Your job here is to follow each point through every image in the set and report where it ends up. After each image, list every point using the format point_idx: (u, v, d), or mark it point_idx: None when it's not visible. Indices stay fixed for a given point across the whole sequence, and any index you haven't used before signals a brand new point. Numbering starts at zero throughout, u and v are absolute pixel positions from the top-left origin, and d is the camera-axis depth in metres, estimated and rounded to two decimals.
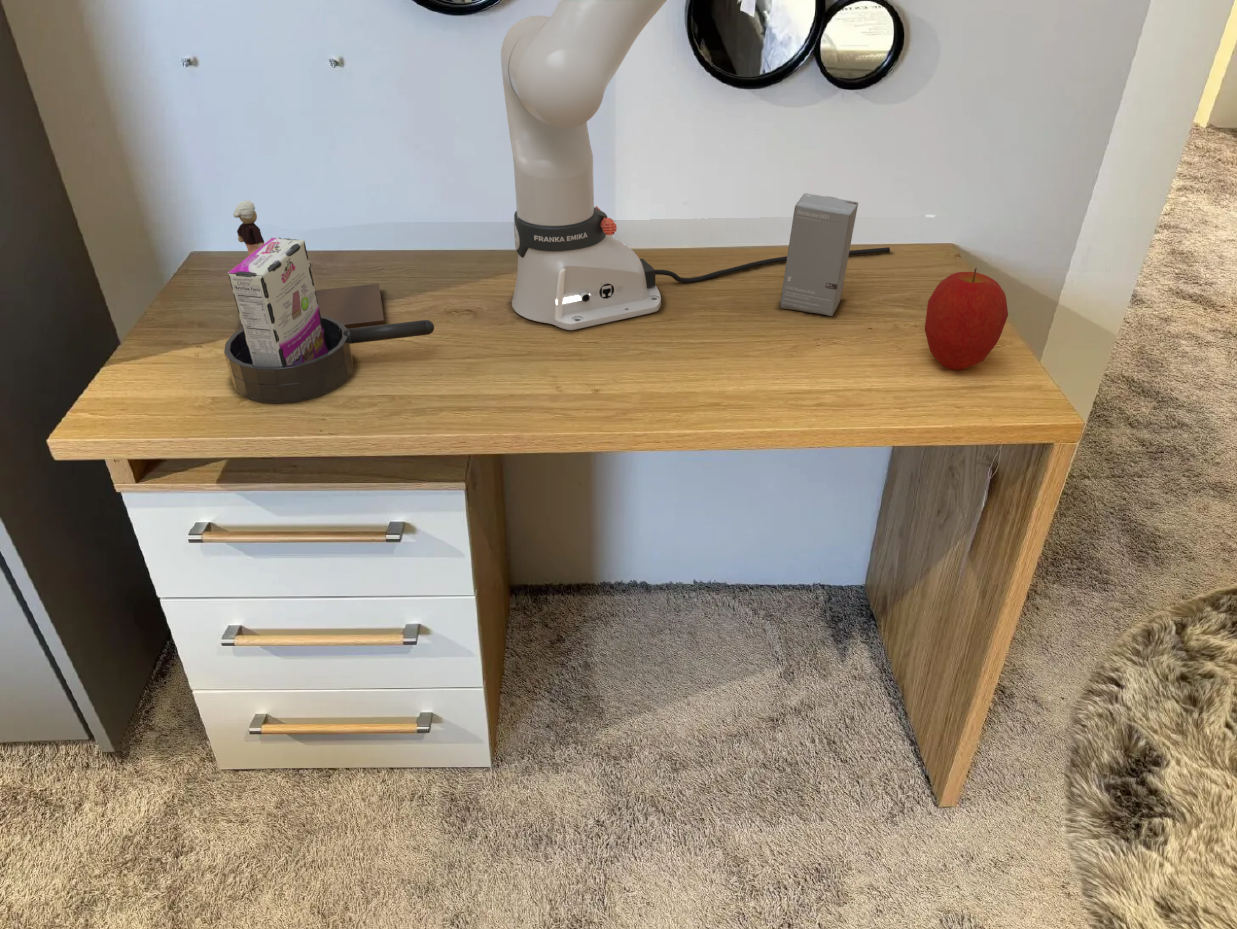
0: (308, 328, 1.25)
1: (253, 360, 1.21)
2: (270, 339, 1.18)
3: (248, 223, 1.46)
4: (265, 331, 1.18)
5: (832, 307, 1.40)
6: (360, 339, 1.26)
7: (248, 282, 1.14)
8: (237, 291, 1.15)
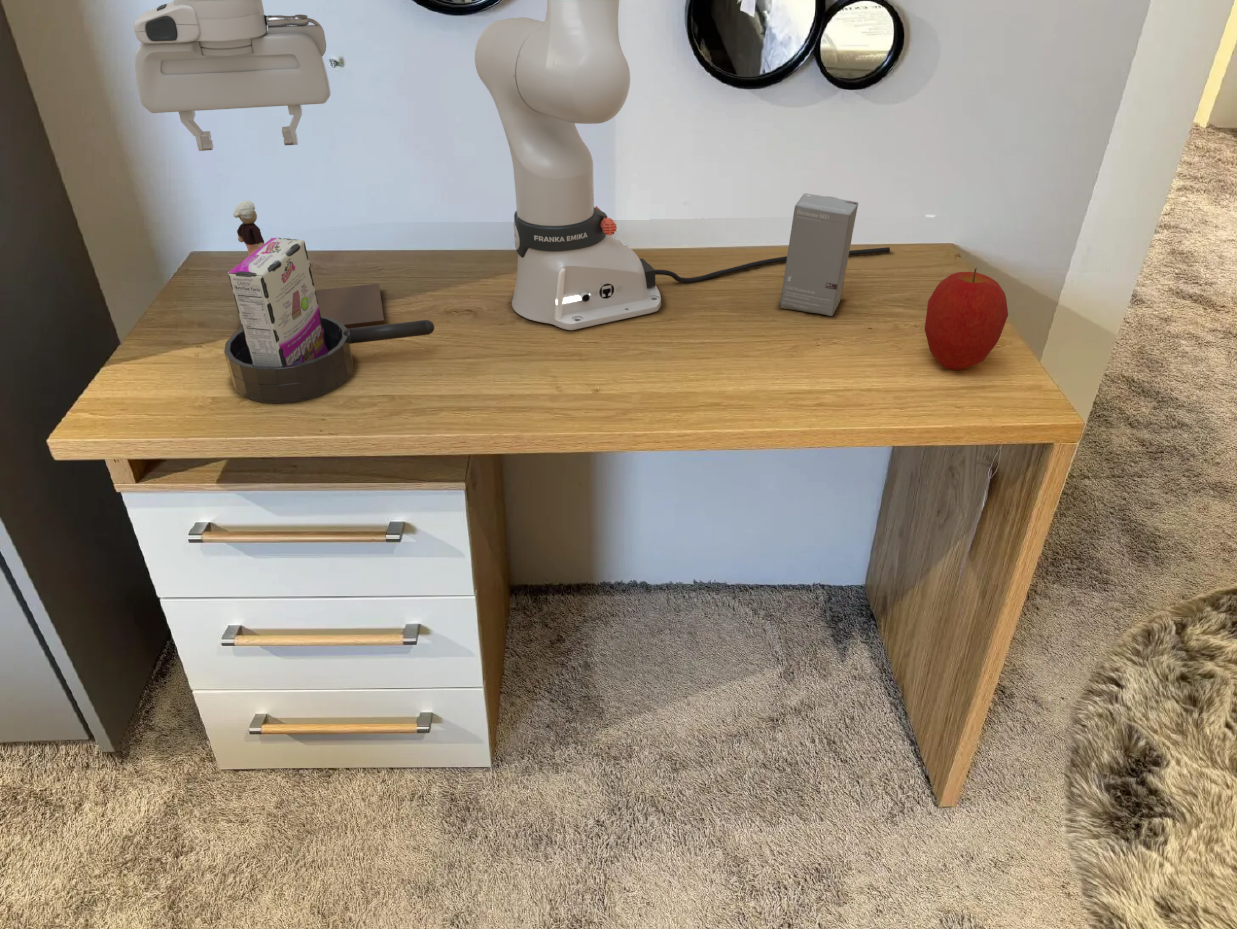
0: (308, 328, 1.25)
1: (253, 360, 1.21)
2: (270, 339, 1.18)
3: (248, 223, 1.46)
4: (265, 331, 1.18)
5: (832, 307, 1.40)
6: (360, 339, 1.26)
7: (248, 282, 1.14)
8: (237, 291, 1.15)
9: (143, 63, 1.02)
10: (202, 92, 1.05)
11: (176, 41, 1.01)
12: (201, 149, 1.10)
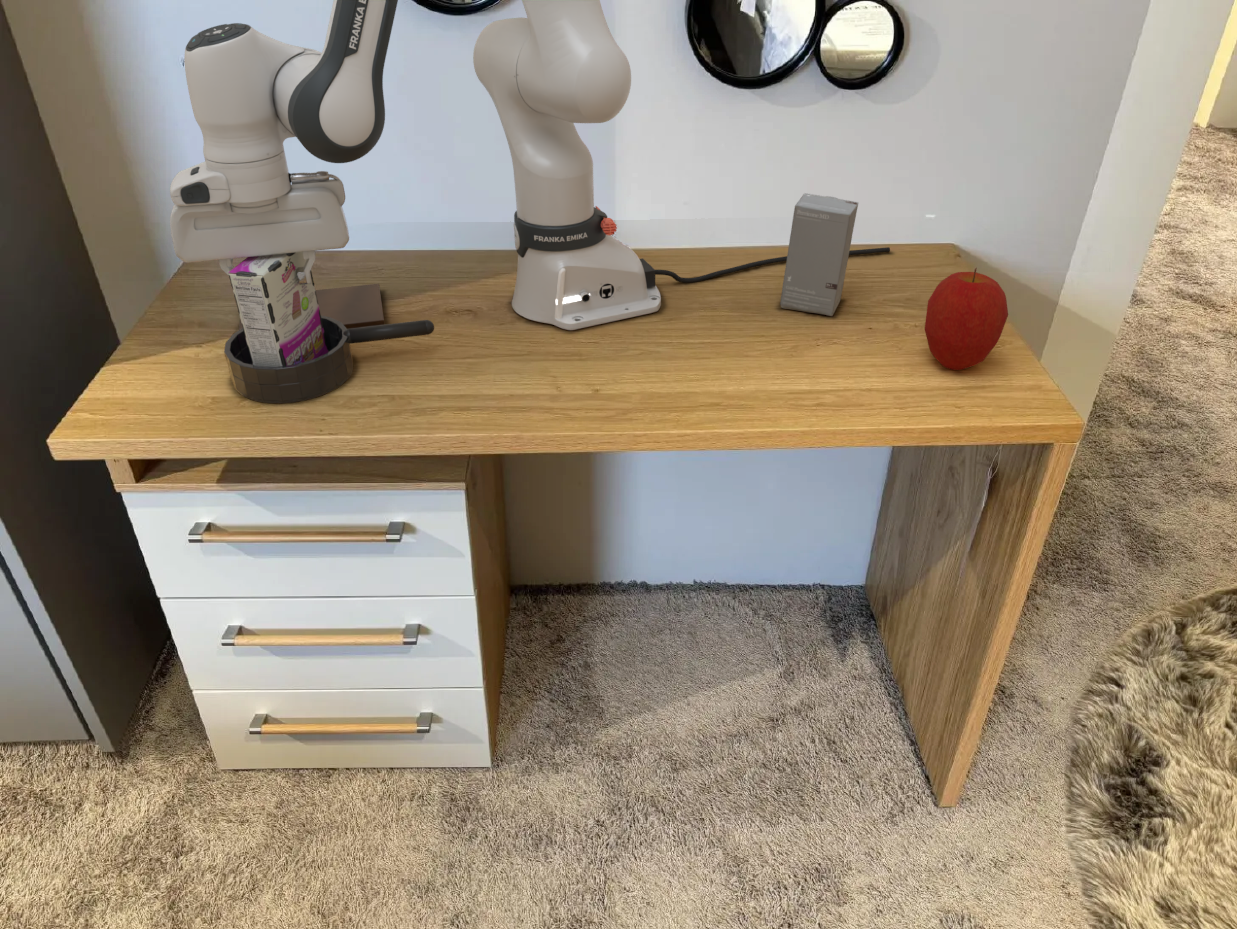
0: (308, 328, 1.25)
1: (253, 360, 1.21)
2: (270, 339, 1.18)
3: None
4: (265, 331, 1.18)
5: (832, 307, 1.40)
6: (360, 339, 1.26)
7: (248, 282, 1.14)
8: (237, 291, 1.15)
9: (178, 222, 1.11)
10: (231, 243, 1.14)
11: (208, 203, 1.10)
12: None
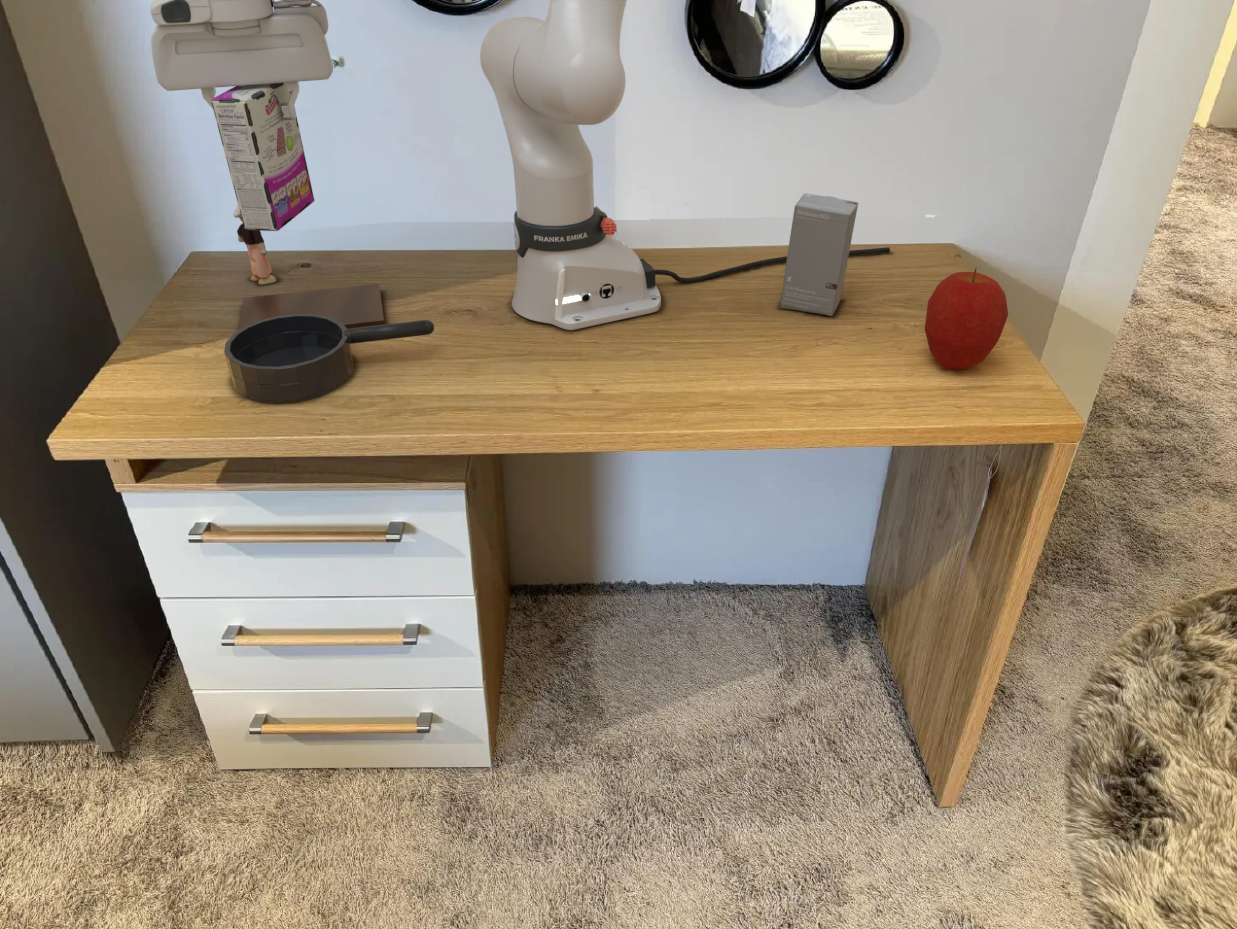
0: (293, 169, 1.24)
1: (238, 197, 1.20)
2: (254, 172, 1.17)
3: None
4: (250, 163, 1.17)
5: (832, 307, 1.40)
6: (360, 339, 1.26)
7: (231, 108, 1.13)
8: (221, 120, 1.14)
9: (159, 44, 1.10)
10: (213, 70, 1.13)
11: (190, 22, 1.09)
12: None
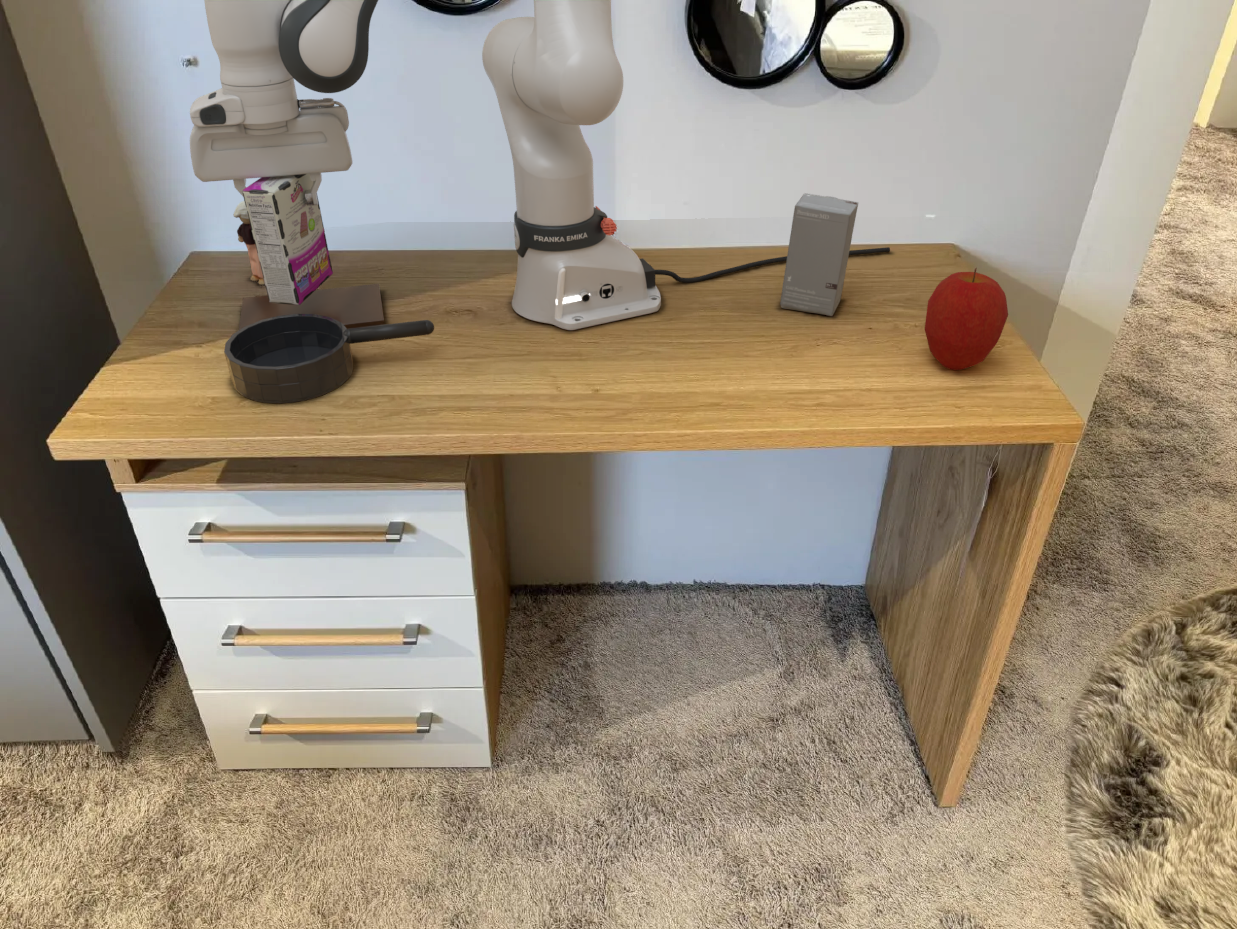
0: (314, 248, 1.36)
1: (264, 274, 1.32)
2: (280, 254, 1.29)
3: (248, 223, 1.46)
4: (276, 246, 1.29)
5: (832, 307, 1.40)
6: (360, 339, 1.26)
7: (260, 199, 1.25)
8: (250, 208, 1.26)
9: (197, 142, 1.22)
10: (245, 164, 1.25)
11: (225, 124, 1.21)
12: None
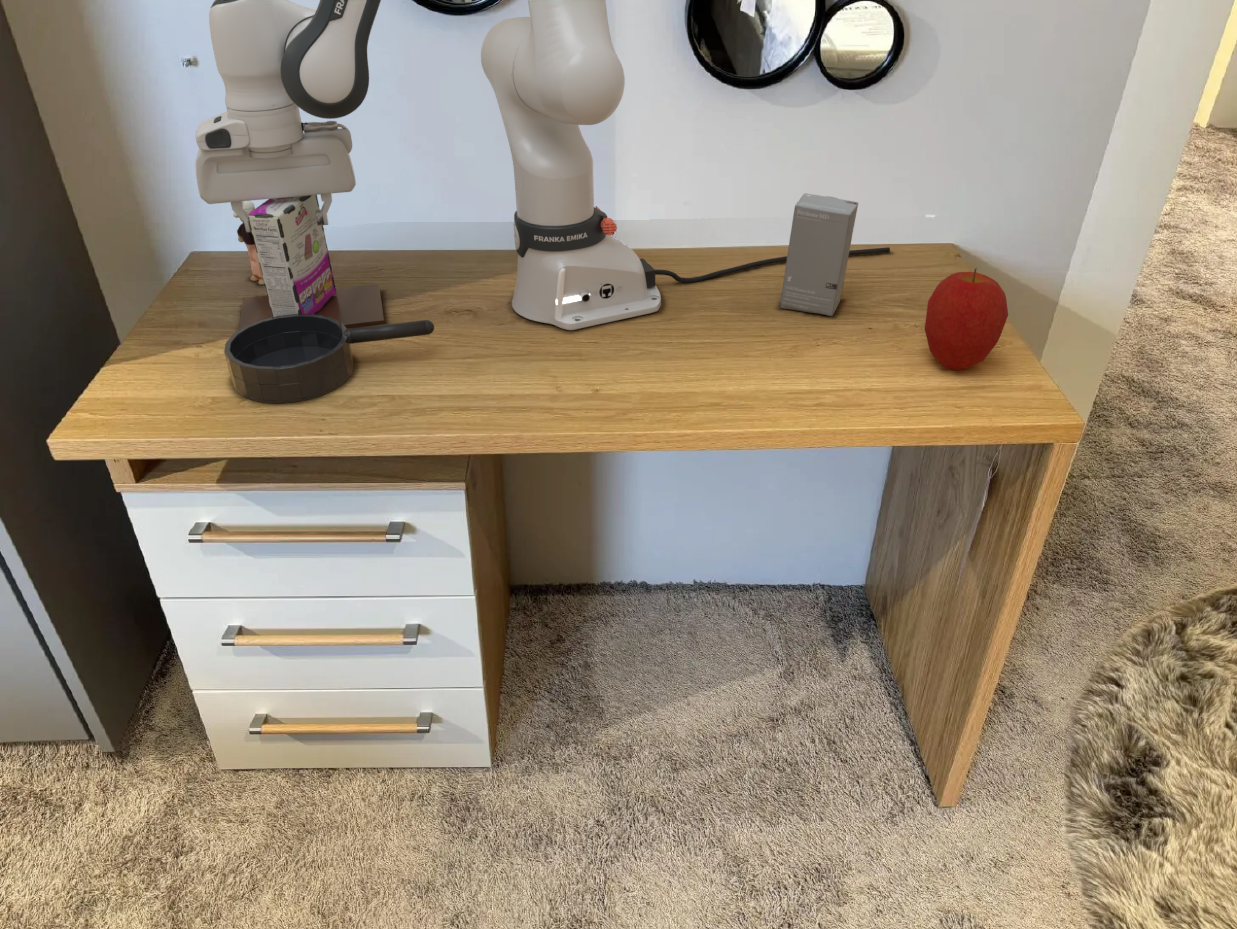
0: (319, 269, 1.38)
1: (269, 296, 1.34)
2: (284, 276, 1.31)
3: None
4: (280, 268, 1.30)
5: (832, 307, 1.40)
6: (360, 339, 1.26)
7: (265, 223, 1.27)
8: (256, 232, 1.28)
9: (202, 166, 1.23)
10: (250, 186, 1.27)
11: (230, 148, 1.22)
12: (248, 231, 1.31)
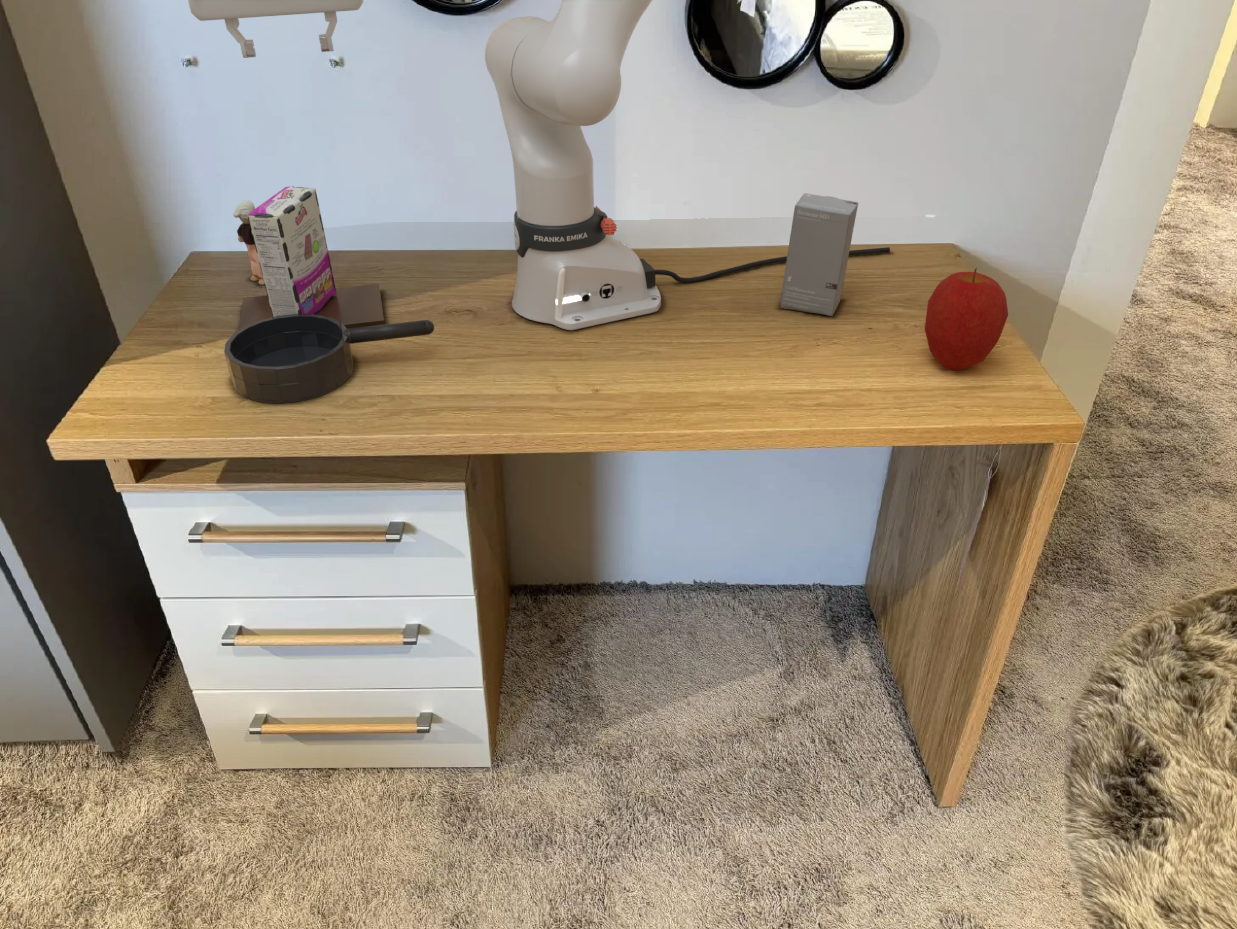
0: (319, 269, 1.38)
1: (269, 296, 1.34)
2: (284, 276, 1.31)
3: (248, 223, 1.46)
4: (280, 268, 1.30)
5: (832, 307, 1.40)
6: (360, 339, 1.26)
7: (265, 222, 1.27)
8: (256, 232, 1.28)
9: None
10: None
11: None
12: (245, 56, 1.18)
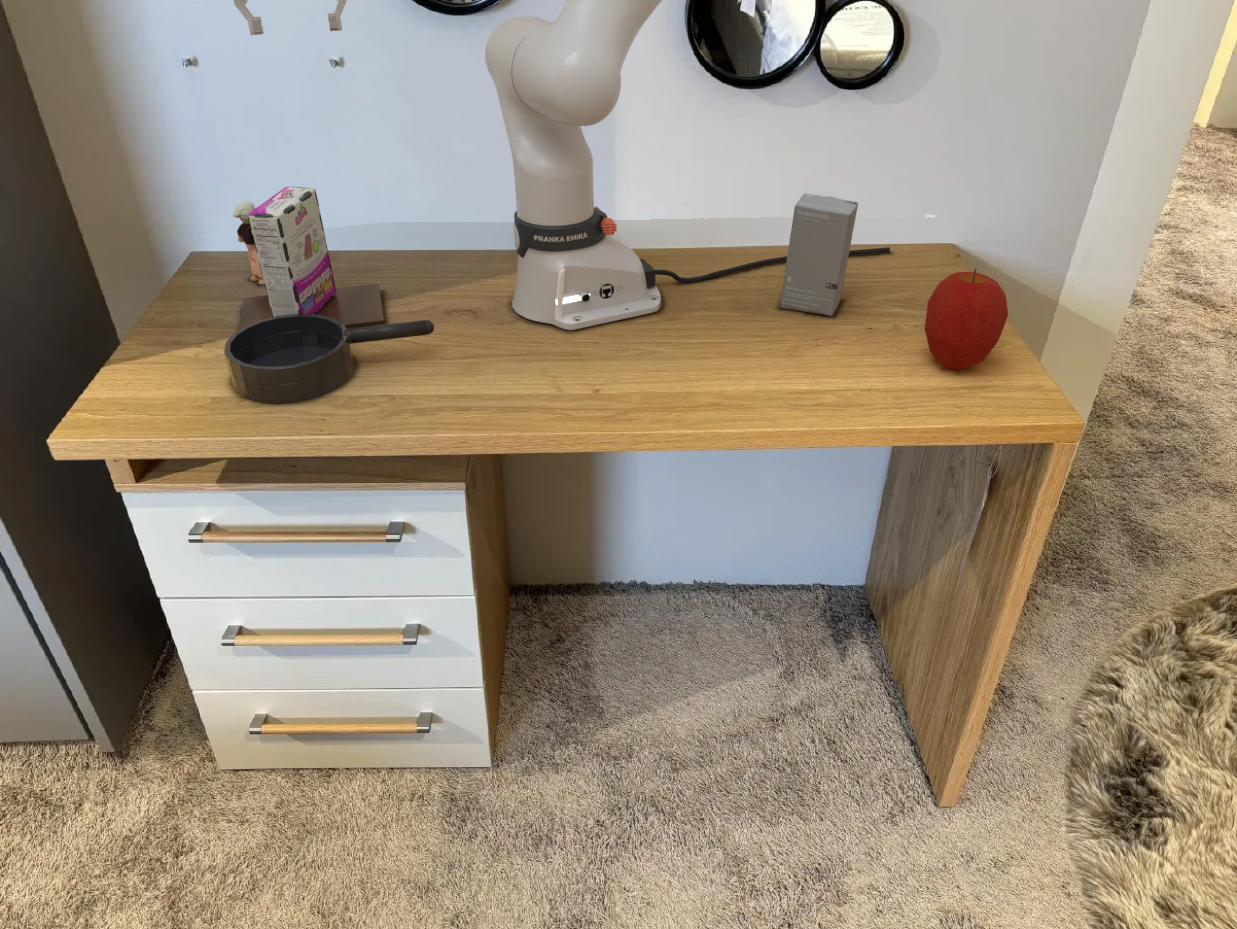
0: (319, 269, 1.38)
1: (269, 296, 1.34)
2: (284, 276, 1.31)
3: (248, 223, 1.46)
4: (280, 268, 1.30)
5: (832, 307, 1.40)
6: (360, 339, 1.26)
7: (265, 222, 1.27)
8: (255, 232, 1.28)
9: None
10: None
11: None
12: (253, 33, 1.17)
